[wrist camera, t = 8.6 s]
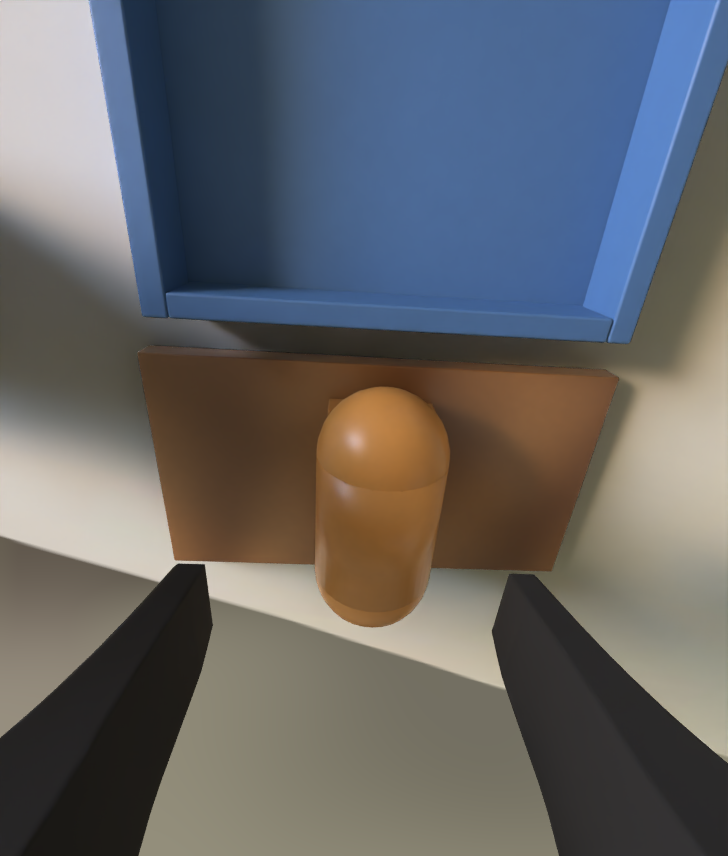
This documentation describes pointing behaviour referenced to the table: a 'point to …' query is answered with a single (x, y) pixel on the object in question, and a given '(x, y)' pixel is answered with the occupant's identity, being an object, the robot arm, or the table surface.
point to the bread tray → (406, 157)
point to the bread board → (301, 425)
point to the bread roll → (378, 503)
